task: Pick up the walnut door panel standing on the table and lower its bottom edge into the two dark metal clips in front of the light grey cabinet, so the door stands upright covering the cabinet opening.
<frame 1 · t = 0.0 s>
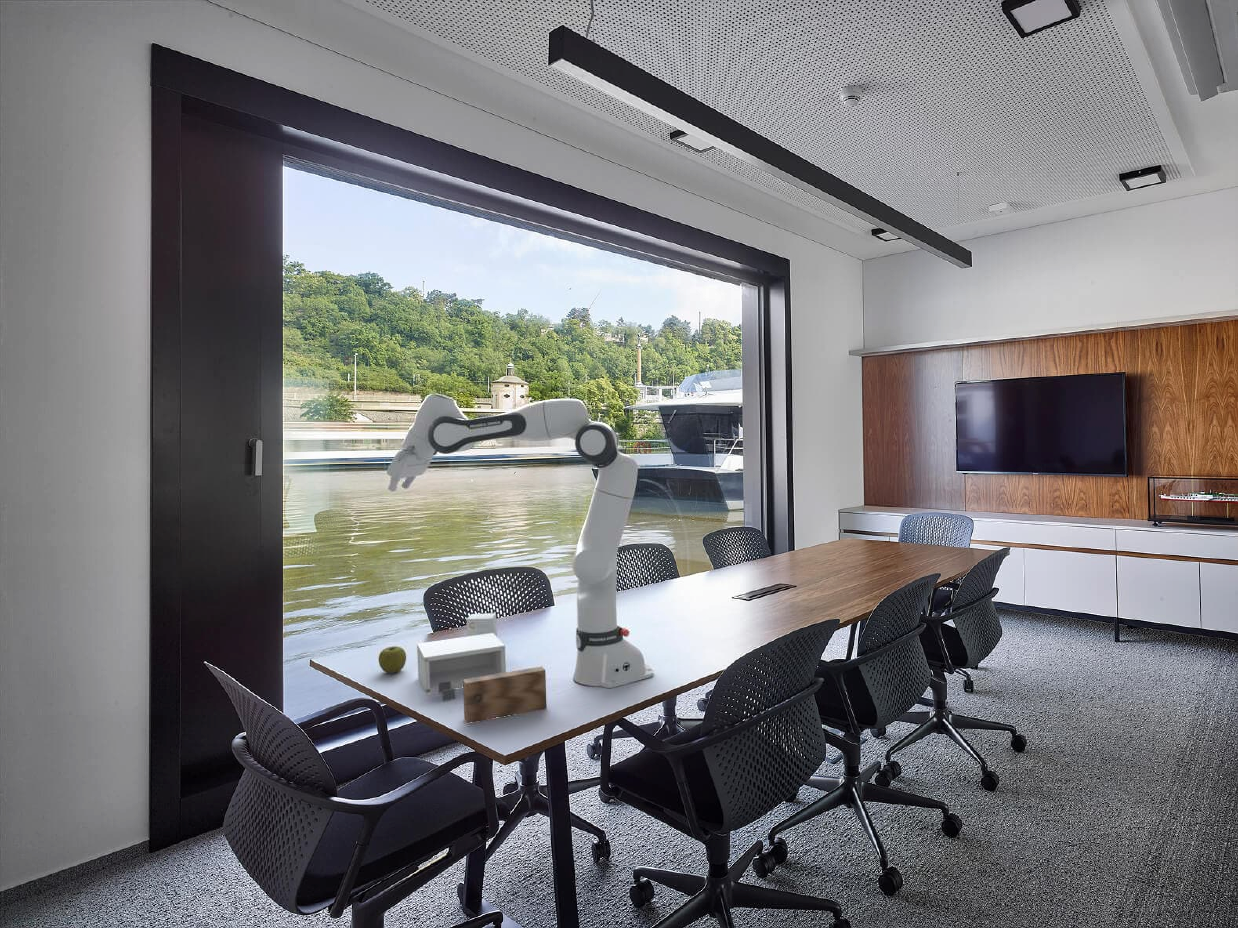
hand: (398, 489, 201), 54 cm above the table, tool tilted 30°, fingers open, 8 cm apart
cabinet: (461, 679, 200), on the table
small box: (483, 657, 220), on the table
apple: (393, 672, 208), on the table
door: (506, 714, 175), on the table
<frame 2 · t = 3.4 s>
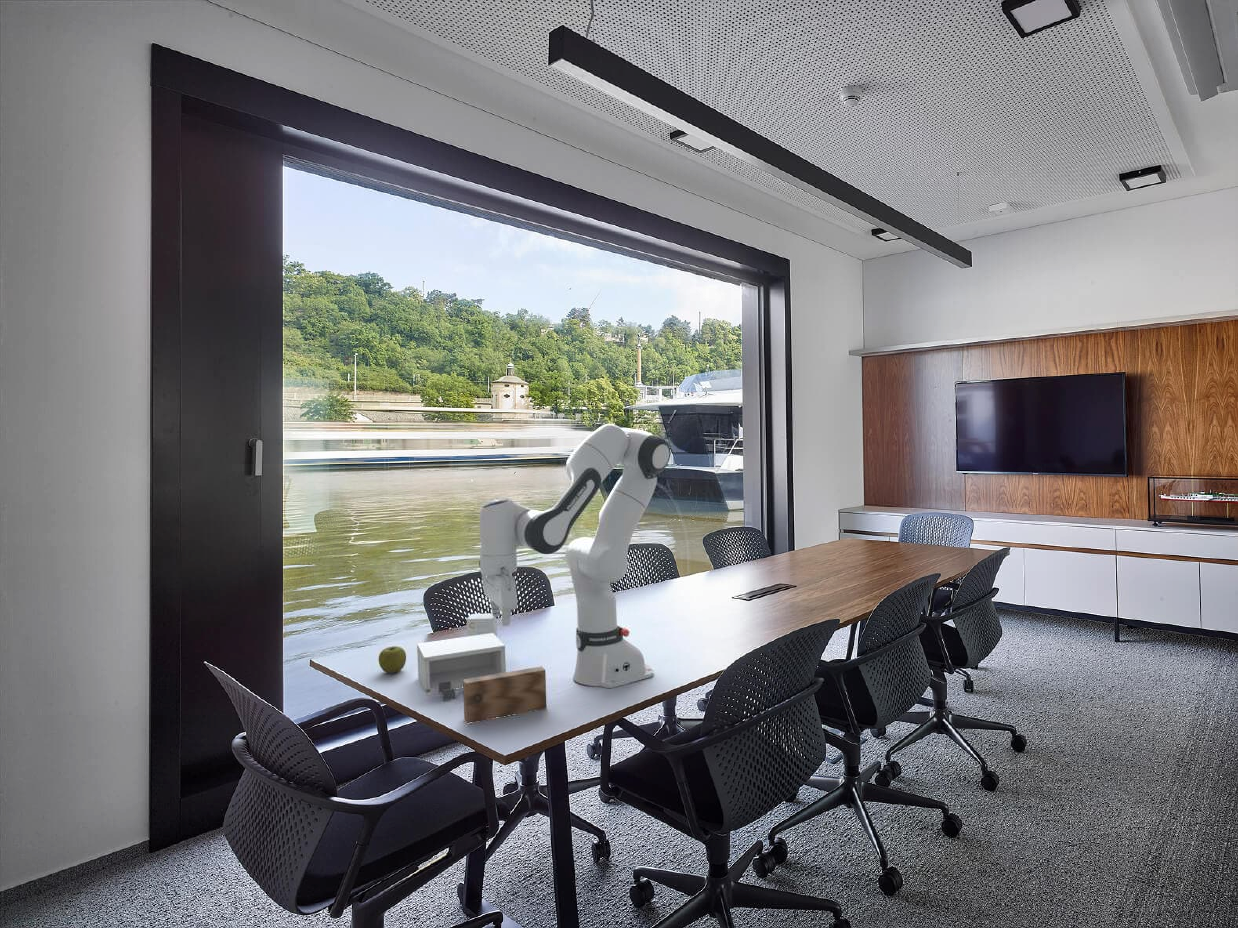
hand: (500, 620, 173), 23 cm above the table, tool pointing down, fingers open, 8 cm apart
nothing on the table moved.
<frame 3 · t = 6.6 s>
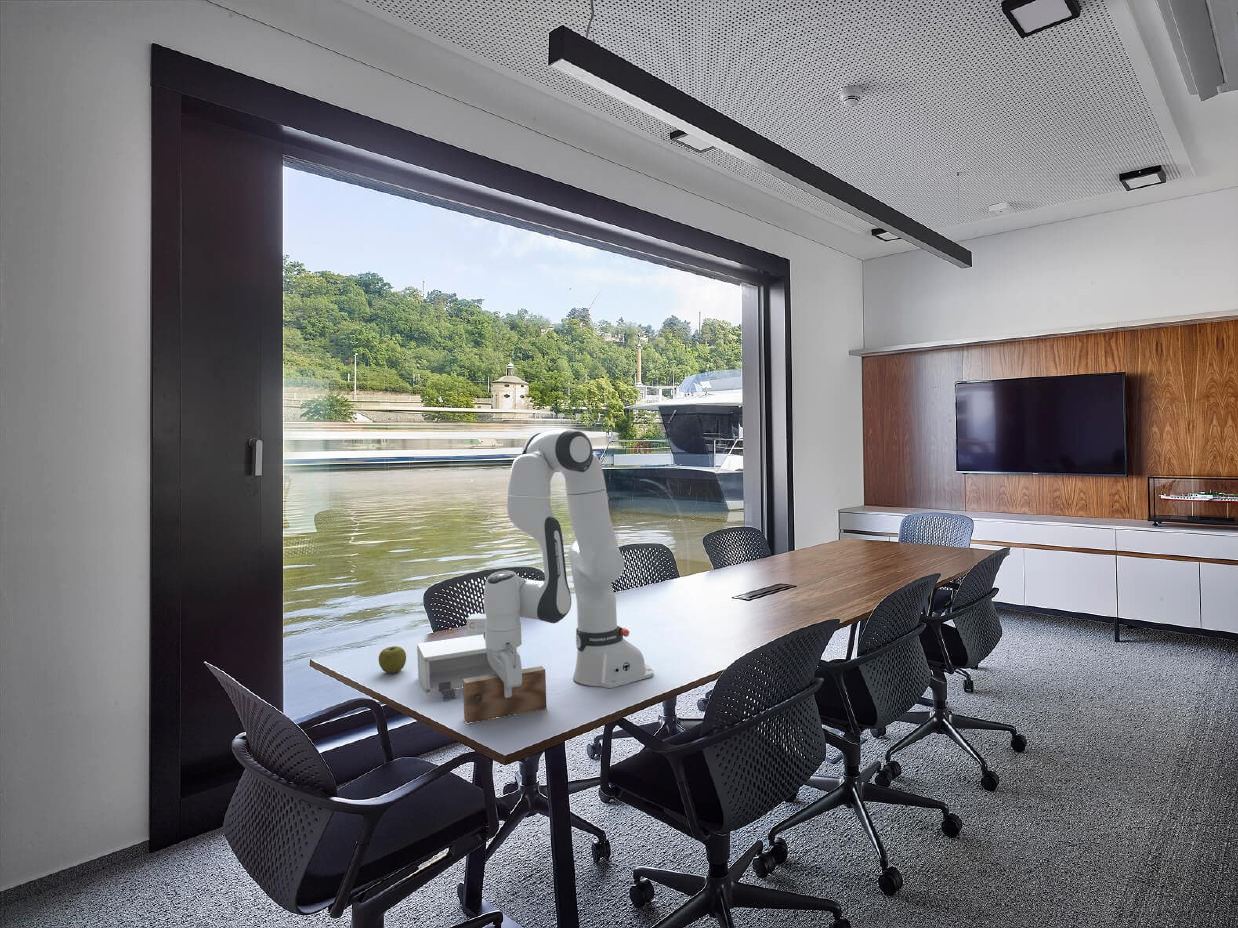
hand: (505, 693, 174), 5 cm above the table, tool pointing down, fingers closed on door, 3 cm apart
door: (506, 714, 175), on the table, touching gripper
everything else where it was.
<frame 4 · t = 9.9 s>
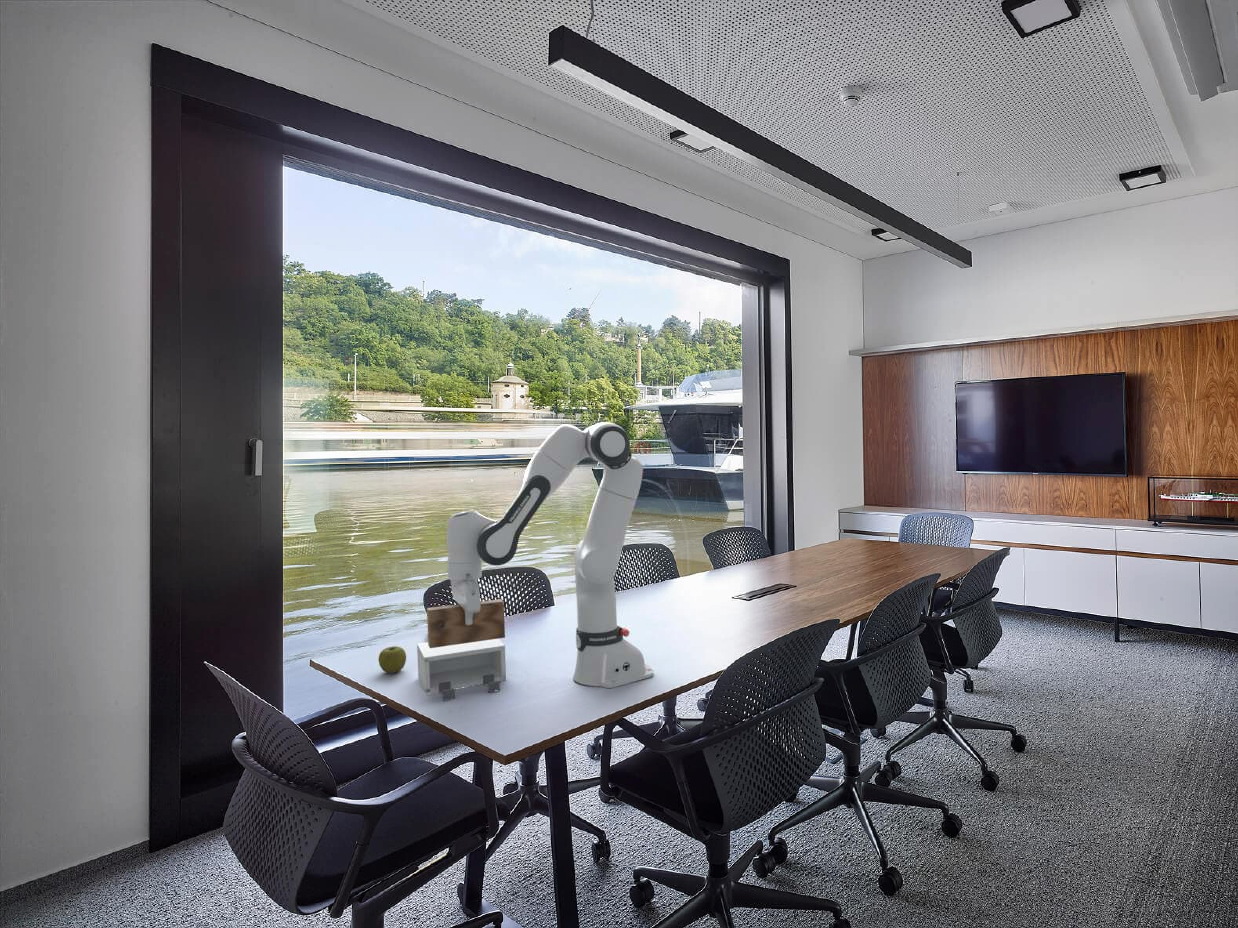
hand: (466, 622, 190), 19 cm above the table, tool pointing down, fingers closed on door, 3 cm apart
door: (467, 641, 190), point 14 cm above the table, touching gripper
everything else where it was.
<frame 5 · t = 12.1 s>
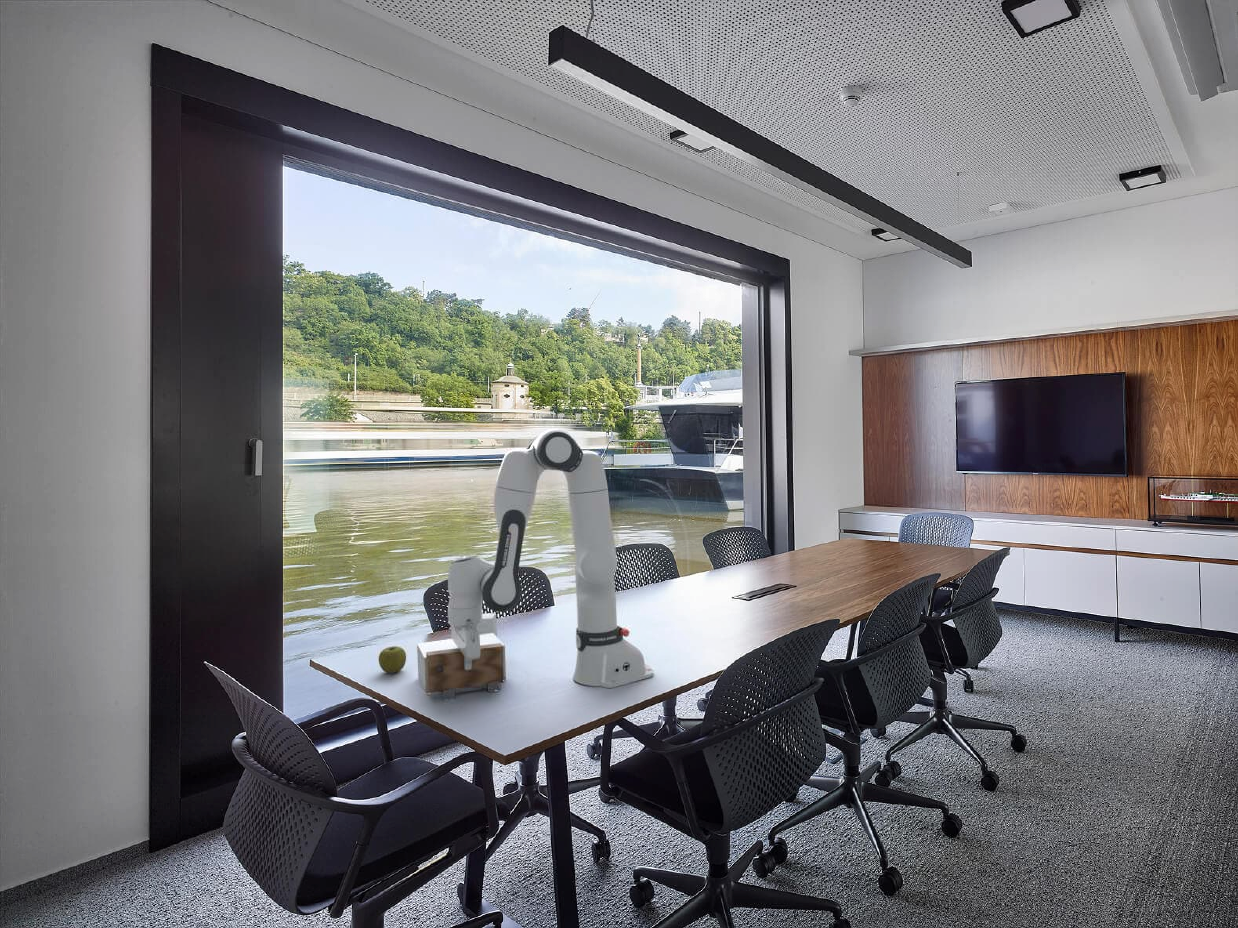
hand: (465, 666, 190), 7 cm above the table, tool pointing down, fingers closed on door, 3 cm apart
door: (465, 685, 190), point 2 cm above the table, touching gripper
everything else where it was.
when the fingers open (7 cm above the table, at t = 13.2 s): door drops 2 cm, on the table.
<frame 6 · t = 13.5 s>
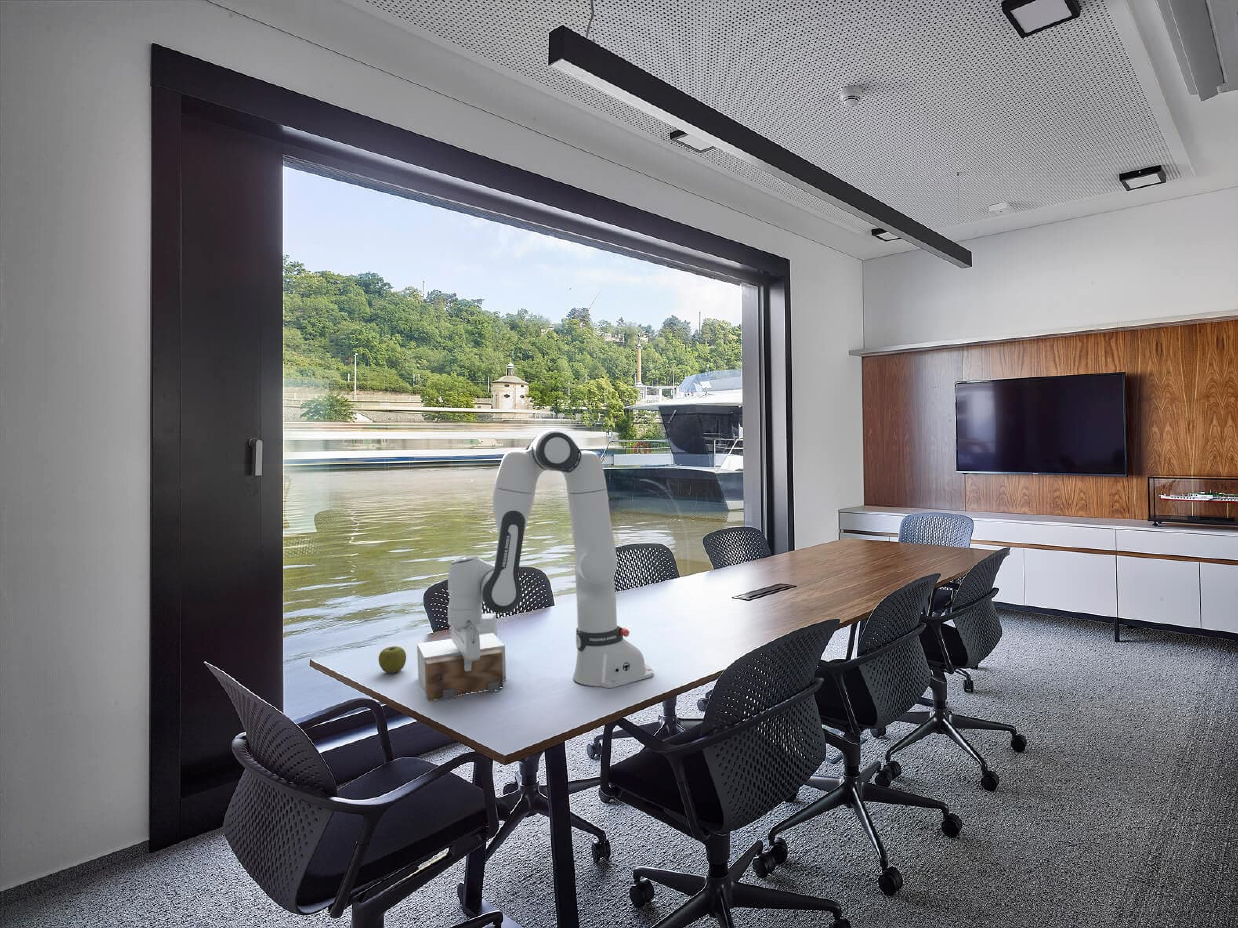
hand: (465, 667, 190), 7 cm above the table, tool pointing down, fingers open, 3 cm apart
door: (465, 692, 190), on the table
everything else where it was.
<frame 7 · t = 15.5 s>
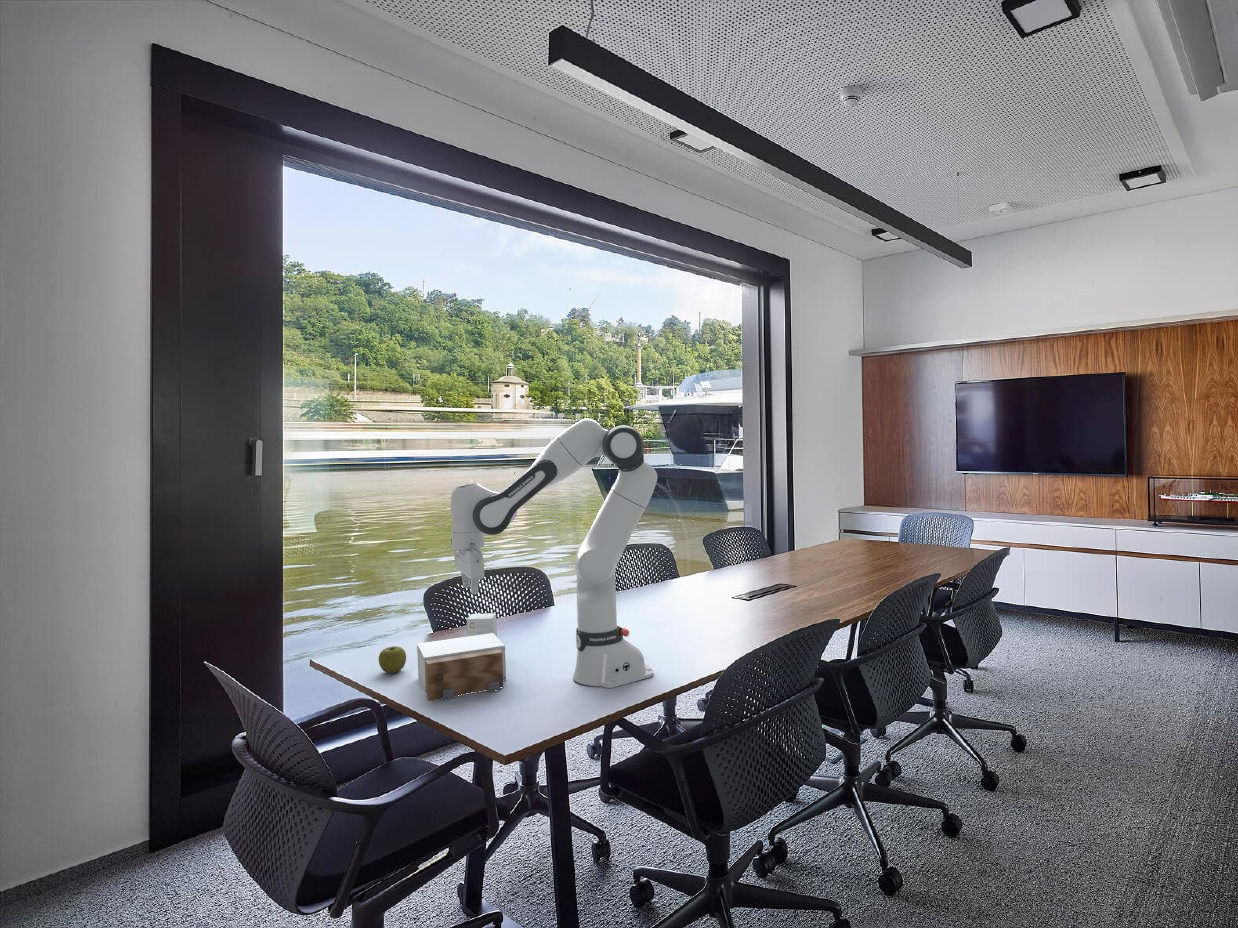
hand: (470, 590, 198), 26 cm above the table, tool pointing down, fingers open, 8 cm apart
nothing on the table moved.
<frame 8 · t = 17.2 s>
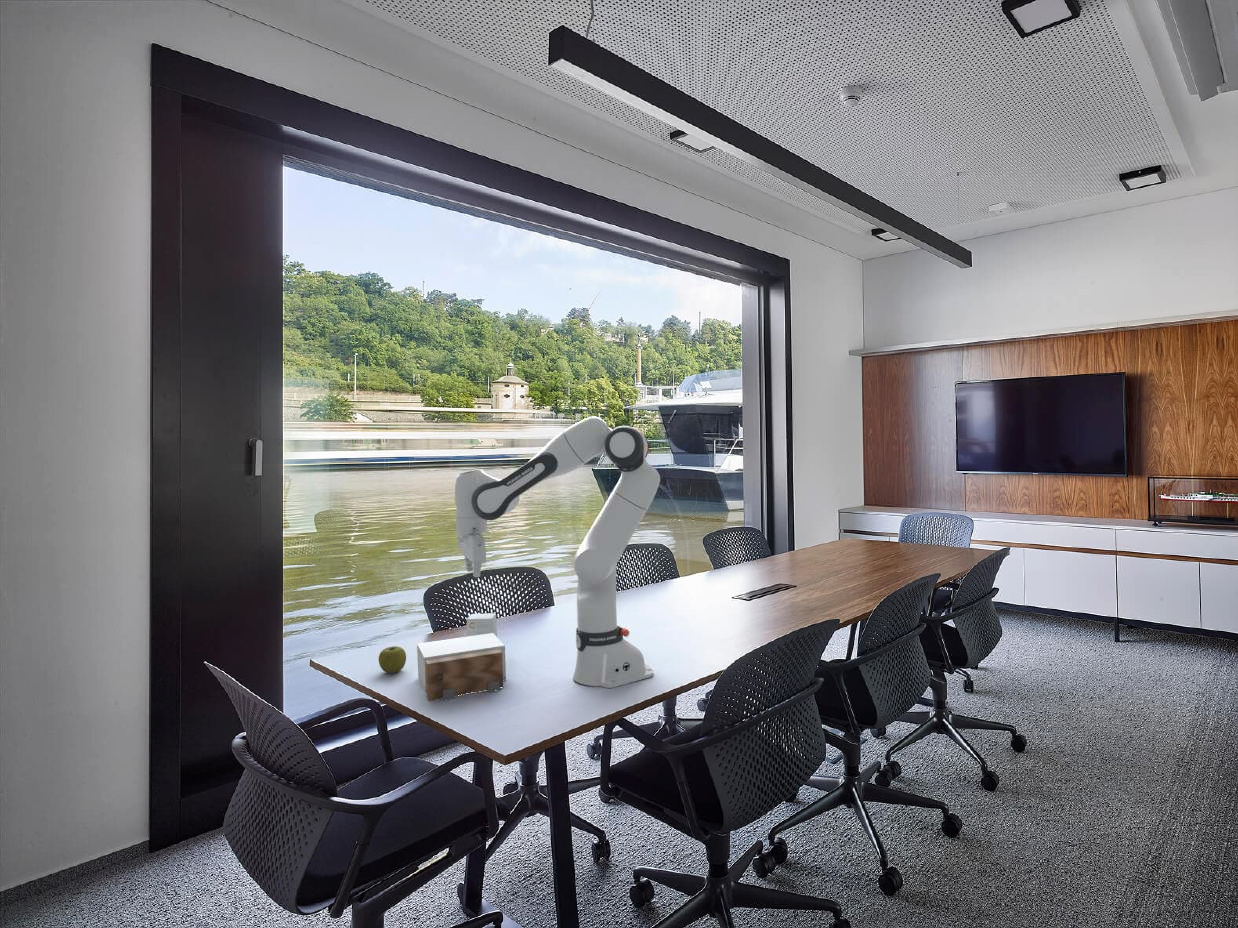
hand: (473, 574, 203), 29 cm above the table, tool pointing down, fingers open, 8 cm apart
nothing on the table moved.
at the end: door 1.2 cm from the target spot on the cabinet, point 0.0 cm above the cabinet's base; door tilted 0°; the gripper is holding nothing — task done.
